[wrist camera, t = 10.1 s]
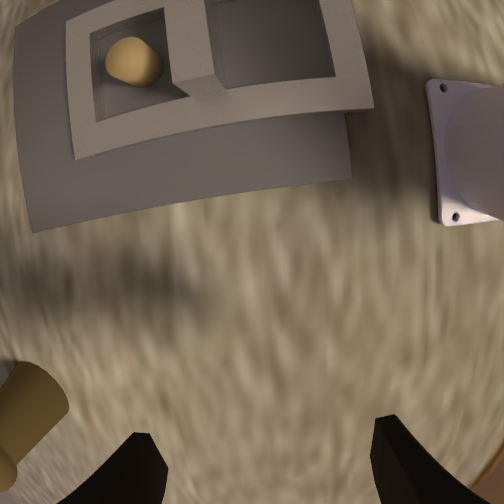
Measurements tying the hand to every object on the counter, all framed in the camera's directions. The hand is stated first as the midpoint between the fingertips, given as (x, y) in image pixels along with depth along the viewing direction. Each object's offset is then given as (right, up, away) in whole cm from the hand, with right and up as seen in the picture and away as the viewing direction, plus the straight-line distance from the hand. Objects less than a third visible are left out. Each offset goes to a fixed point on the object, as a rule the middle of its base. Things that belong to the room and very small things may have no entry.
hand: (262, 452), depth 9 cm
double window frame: (-2, +16, +4) cm, 17 cm away
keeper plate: (-5, +15, +5) cm, 17 cm away
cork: (-18, -5, +13) cm, 23 cm away
